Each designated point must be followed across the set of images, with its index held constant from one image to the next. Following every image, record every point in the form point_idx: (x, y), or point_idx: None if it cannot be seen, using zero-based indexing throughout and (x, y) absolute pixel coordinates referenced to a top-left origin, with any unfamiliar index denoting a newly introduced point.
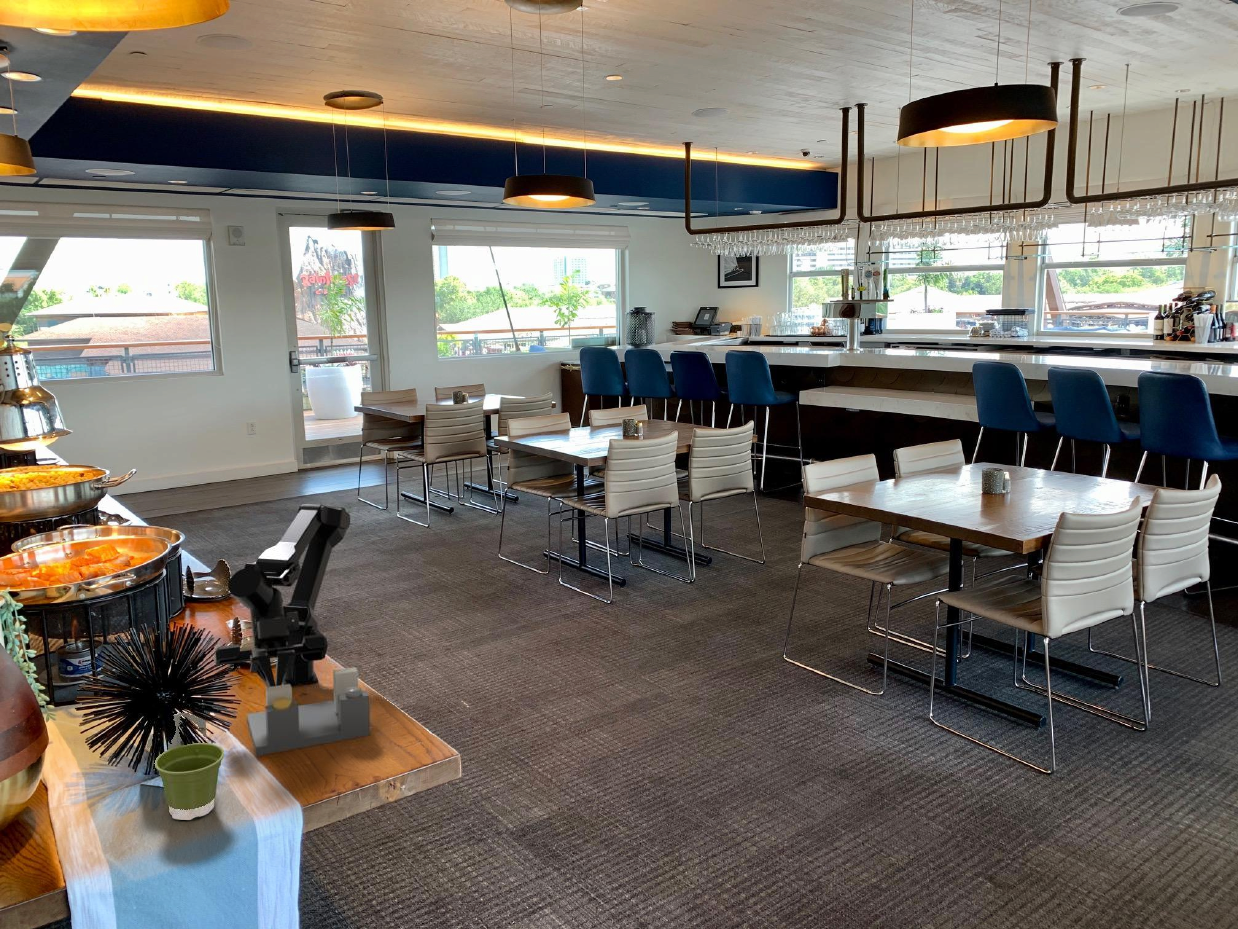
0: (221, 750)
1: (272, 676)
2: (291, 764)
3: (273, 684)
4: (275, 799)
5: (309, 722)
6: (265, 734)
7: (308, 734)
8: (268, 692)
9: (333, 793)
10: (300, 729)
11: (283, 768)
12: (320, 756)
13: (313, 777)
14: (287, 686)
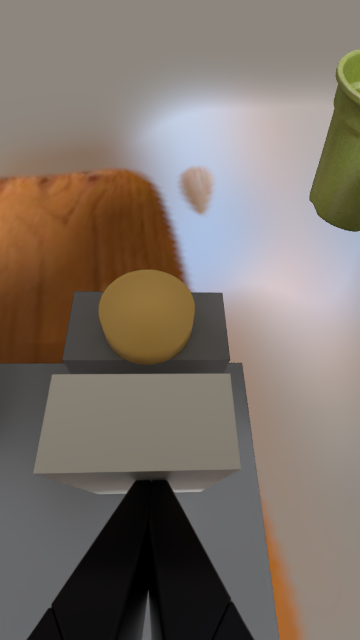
0: (349, 84)
1: (174, 626)
2: None
3: (170, 544)
4: (200, 189)
5: (17, 508)
6: None
7: None
8: (221, 377)
9: (96, 172)
10: None
11: None
12: (67, 306)
13: (114, 228)
14: (70, 419)
